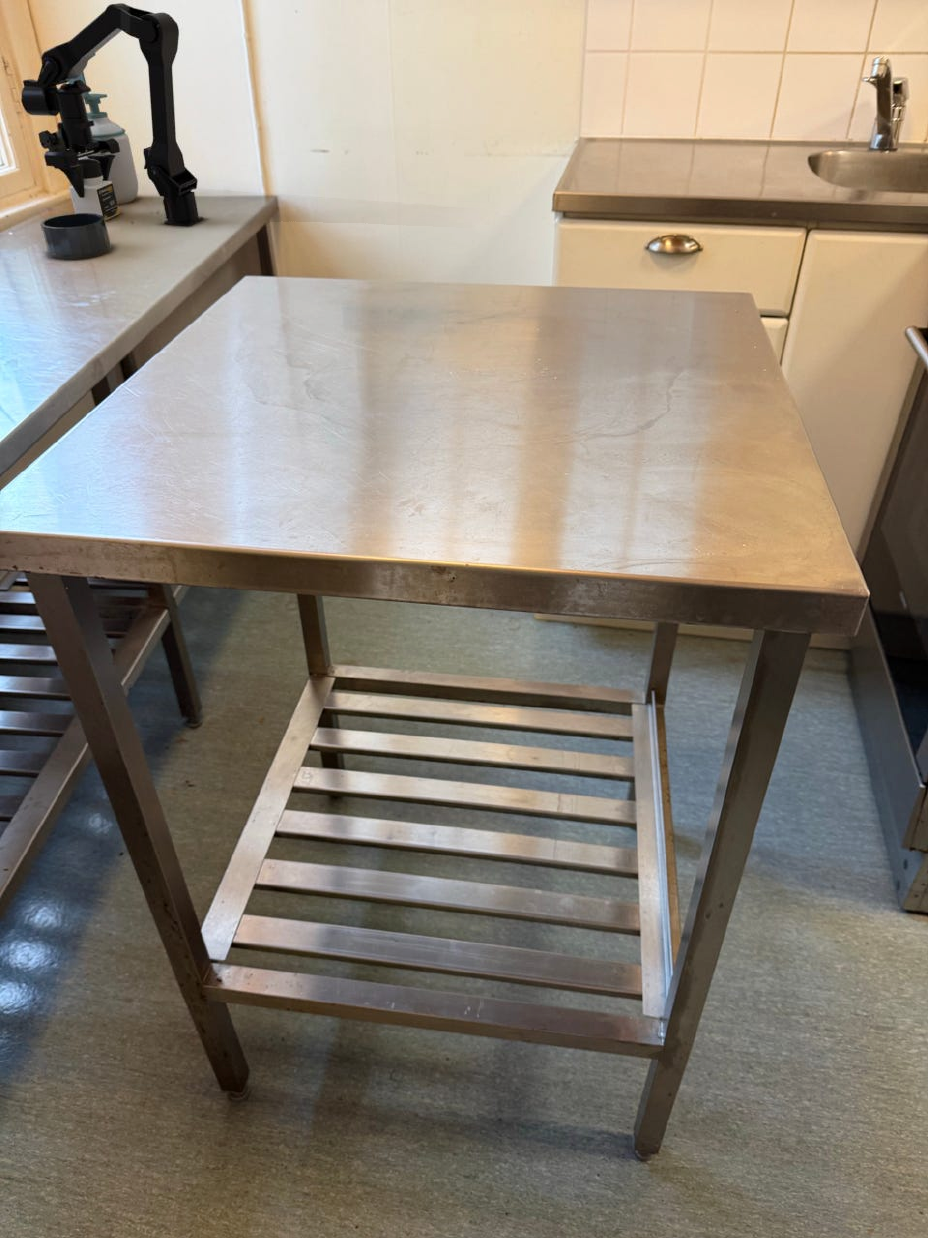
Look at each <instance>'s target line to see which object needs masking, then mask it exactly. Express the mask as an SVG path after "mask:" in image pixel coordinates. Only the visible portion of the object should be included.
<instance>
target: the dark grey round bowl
mask: <svg viewBox="0 0 928 1238" xmlns="http://www.w3.org/2000/svg"><path fill="white" fill-rule="evenodd" d="M40 227H41V231H42V234H43V238H44V241H45V245H46V249H47V252H48V254H49V256H50V257H51V258H53V259H56V260H64V261H66V260H67V261H74V260H84V259H85V260H87V259H91V258H96V257H100V256H103V255H105V254H108V253H109V252H111V250H112V245H111V239H110V235H109V231H108V230H109V229H108V227H107V222H106V221H105V218H104V217H103V216H102V215H98V214H92V213H76V214H75V213H67V214H60V215H56V216H52V217H51V216H50V217H48V218H46V219H44V220H42V221H41V222H40Z"/></svg>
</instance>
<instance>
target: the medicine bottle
mask: <svg viewBox="0 0 928 1238" xmlns="http://www.w3.org/2000/svg"><path fill="white" fill-rule="evenodd" d="M78 165H83V175H84V198H80V197H79V196H78V194H77V192H76V191H75V189H74V187H73V186H72V185H70V186H68V190H69V194H70V198H71V202H72V206H73V209H74V214H76V213H92V214H98V215H102V216H103V217H104V218H105V222H106V221H108V220H110V219H112V218H114V217H116V216H118V215H120V209H119V204H117V200H116V196H115V192H114V187H113V183H112V182H111V181H102V179H103V175H102V171H101V167H100V163H99V162H98V161H97V160H94V159H81V160H79V161H78Z"/></svg>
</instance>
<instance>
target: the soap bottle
mask: <svg viewBox="0 0 928 1238" xmlns="http://www.w3.org/2000/svg"><path fill="white" fill-rule="evenodd" d="M95 56H96V53H94V54H93V55H92V56H91V57H90V59H89V60H91V59H93V57H95ZM89 60H88V61H89ZM84 71H85V70H83V72H82V73H81V74H80V76H79V77H78V78H75V79H71V80H69V81H68V82H67V84H73V83H74V81H76V80H82V82H83V83H84V84H85V85H87V82H86V81H87V80H86V77H85V73H84ZM83 97H84V102H85V105H87V106H88V107H89V112H87V114H88V118H89V120H92V121H93V122H94V126H91V131H92V135H93V139H94V138H98V137H100V138H114V139H115V140H116V141H117V142H118V144H119V148H120V152H118V153H114V154H111V153H110V155H115V158H114V159H113V162H112V166H111V169H110V174H109V178H108V181H111V182H112V183H113V187H114V192H115V196H116V200H117V205H124V204H128V203H131V202H133V201H134V200H135V198H136V197H137V196H138V193H139V180H138V175H137V170H136V166H135V162H134V157H133V152H132V147H131V142H130V138H129V135H128V134H127V133H126V129H125V128H124V127H121V126H120V125H119V124H118V123H116V122H114V121H112V120H111V119H110V118H109V116H108V112H106V111H100V106H99V105H100V104H102V101H101V99H105V98H108V95H107V93H90V92H87V93H83ZM78 159H79V160H81V159H89V158H88V157H87V156H85V157H81V158H78Z"/></svg>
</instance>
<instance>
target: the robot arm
mask: <svg viewBox="0 0 928 1238" xmlns="http://www.w3.org/2000/svg"><path fill="white" fill-rule="evenodd" d="M121 32H123V33H125V34H127V35H128V36H130V37H132V38H135V39H138V44H139V49H140V51H141V53H142V55H143V57H144V59H145V62H146V63H147V73H148V85H149V101H150V102H149V103H150V115H151V130H152V132H151V133H152V141H151V144H150V146H148V147H145V148H143V152H142V153H143V157H144V167H143V170H146V174H147V177H148V179H149V180H150V181H151V183H152V184H153V185H154V187H155V190H156V191H157V194H158V196H159V197H163V199H162V204H163V208H164V213H165V218H166V220H164V221H163V223H164V225H174V226H186V227H188V226H191V225H194V224H196V223H197V222H200V221H203V220H204V216H200V215H199V211H198V205H197V199H196V195H195V194H196V193H195V191H194V190H197V189H198V182H199V180H198V178H197V177H196V176H195V175H194V174H193V173H192V172H191V171H190V170H189V169H188V168H187V167H186V166H185V159H184V156H183V152H182V150H181V148H180V146H179V144H178V142H177V134H176V115H175V113H176V111H175V95H174V93H175V92H174V78H173V76H174V75H173V65H174V62H175V59H176V56H177V53H178V49H179V39H180V30H179V25H178V23H177V21H175V19H174V18H173V17H172V16H171V15H170V14H169V13H167V12H157V13H155V12H151V11H148V10H144V9H141V8H136V7H133V6H130V5H128V4H125V3H123V2H119V3H110V4H108V6H107V7H106V8H105V10H104V11H102V13H101V14H99V15H98V16H97V17H95V18H94V19H93V20H92V21H91V22H90V23H89V24H88V25H86V26H85V27H84V28H83V29H82V30H81V31H79V32H78V33H77V34H76V35H75V36H74V37H72V38H71V39H70V40H68V41H65V42H63V43H60V44H58V45H55V46H53V47H52V48H50V49H47V50H46V51H44V52H43V53H42V54H41V57H40V59H41V67H40V71H39V73H38V76H37V80H36V79H32V78H28V79H24V80H22V84H23V88H22V90H21V99H20V100H21V104H22V107H23V109H24V111H25V112H26V113H27V114H28V115H30V116H42V117H43V116H45V117H56V116H58V115H59V118H60V121H59V122H57V124H56V127H57V131H54V132H50V131H49V130H48V129H46V130H42V131H40V132H38V134H37V135H38V139H39V143H40V145H41V147H42V148H43V149H45V150H46V149H48V150H46V151H45V153H44V155H43V158H44V161H45V165H46V167H53V168H54V169H55V170H59V171H60V172H62V173H63V174H64V175H65V177H66V178H67V179H68V181H69V183H70V184H71V186H73V187H74V189H75V191H76V192H77V194H78V196H79V197H80V198H84V175H83V165H78V161H79V159H78V158H81V157H85V156H87V157H88V158H89V159H94V160H97V161H98V162H99V163H100V167H101V171H102V175H103V179H102V181H108V178H109V174H110V169H111V166H112V162H113V159H114V158H115V155H110V153H111V154H114V153H118V152H120V148H119V144H118V142H117V141H116V140H115V139H114V138H100V137H98V138H94V139H93V135H92V131H91V126H94V122H93V121H92V120H89V118H88V114H87V113H88V111H87V106H86V104H85V100H84V97H83V93H87V92H89V93H91V92H92V88H91V87H90V86H89V85H87V84H86V85H85V84H84V83H83V82H82V80H76V81H74V83H73V84H69V83H68V81H69V80H71V79H75V78H78V77H79V76H80V74H81V73H82V72H83V71H85V69H86V68H87V66H88V62H89V59H90V57H91V56H92V55H93V54H94V53H95V54H96V53H97V52H98V51H100V49H102V48H103V47H104V46H106V44H108V43H109V42H110V41H111V40H113V39H114V38H115V37H116V36H118V35H119V34H120V33H121ZM90 60H91V59H90ZM59 85H60V87H59V88H58V86H59Z"/></svg>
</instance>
